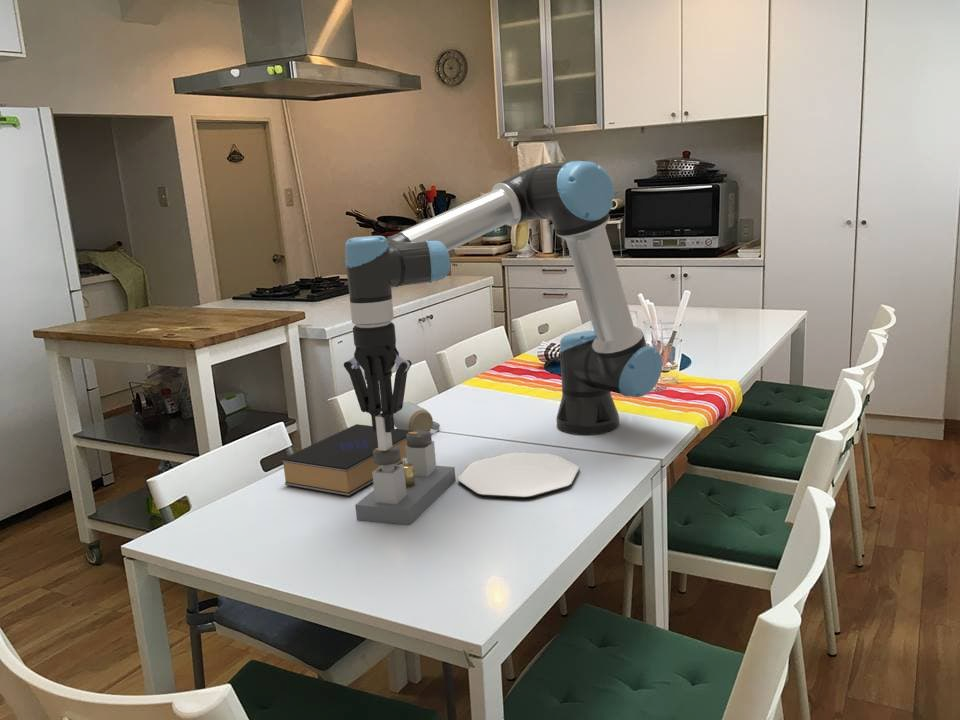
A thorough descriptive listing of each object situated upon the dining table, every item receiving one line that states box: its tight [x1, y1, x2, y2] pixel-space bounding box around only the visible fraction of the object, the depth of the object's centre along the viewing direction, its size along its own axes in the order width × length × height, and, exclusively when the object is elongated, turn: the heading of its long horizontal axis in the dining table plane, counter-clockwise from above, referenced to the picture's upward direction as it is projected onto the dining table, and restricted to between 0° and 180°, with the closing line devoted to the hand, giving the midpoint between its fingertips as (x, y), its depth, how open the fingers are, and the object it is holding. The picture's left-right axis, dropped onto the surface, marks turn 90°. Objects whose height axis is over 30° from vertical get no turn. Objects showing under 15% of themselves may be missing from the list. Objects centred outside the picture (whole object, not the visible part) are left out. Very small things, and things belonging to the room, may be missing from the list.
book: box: [281, 423, 412, 497], centre depth 177 cm, size 17×25×7 cm
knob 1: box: [373, 446, 401, 472], centre depth 151 cm, size 5×5×8 cm
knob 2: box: [406, 430, 432, 447], centre depth 164 cm, size 5×5×8 cm
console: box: [354, 441, 456, 526], centre depth 159 cm, size 11×22×9 cm, turn 159°
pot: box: [400, 458, 415, 488], centre depth 158 cm, size 3×3×6 cm
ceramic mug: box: [393, 401, 441, 432], centre depth 200 cm, size 11×8×8 cm
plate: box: [457, 452, 580, 499], centre depth 167 cm, size 24×24×2 cm
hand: (385, 448), depth 150 cm, fingers closed
